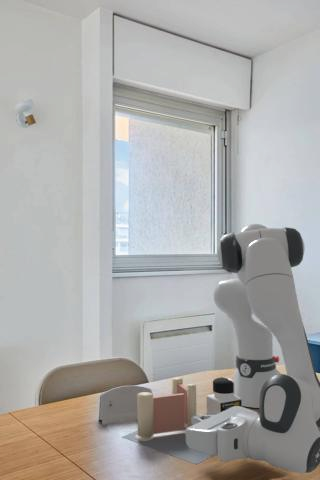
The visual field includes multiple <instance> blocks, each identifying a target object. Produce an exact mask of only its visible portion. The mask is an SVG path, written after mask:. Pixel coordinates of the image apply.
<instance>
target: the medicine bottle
mask: <svg viewBox="0 0 320 480" xmlns="http://www.w3.org/2000/svg"><path fill="white" fill-rule="evenodd" d="M234 394H235V382H234V380H233V378H229V377H225V376H224V377H221V376H220V377H217V378H214V379H213V380H212V394H207V395H206V415H216V414H218V413H220V412H223V411H225V410H227V409H229V408H231V407H233V406H241V407H243V406H242V399H241V398H240V397H237V396H235V395H234Z"/></svg>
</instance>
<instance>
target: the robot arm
mask: <svg viewBox="0 0 320 480" xmlns="http://www.w3.org/2000/svg"><path fill="white" fill-rule="evenodd" d="M302 237H303V236H302V234H301V233H300V231H298V230H297V229H296V228H293V227H286V226H284V227H282V228H275V227H274V228H272V227H271V228H270V227H266V226H265V225H263V224H259V223H253V224H248V225H247V226H245V227H243V228H242V230H240V231H238V232H236V233H235V232H230V233H226V234H224V235H222V236H221V238H220V239H219V243H218V246H217V252H216V255H217V259H218V261H219V264H220V265H221V268H222V269H223V270H224V271H226V272H227V273H233V274H236V275H237V277H238V278H230V279H224V280H220V281H219V282H218V283H217V284H216V286H215V287H214V289H213V290H214V291H213V301H214V303H215V305H216V307H217V309H219V310H220V311H221V312H223V313H224V314H225V315H226V316H227V317H228V319H229V320H230V321H231V323H232V325H233V327H234V330H235V335H236V336H235V337H236V346H237V349H236V351H237V353H236V354H237V355H236V358H235V367H236V370H235V371H234V372H233V377H232V380H234V382H235V394H234V395H235V396H237V397H240V398H241V399H242V407H241V406H233V407H231V408H229V409H227V410H225V411H223V412H220V413H218V414H216V415H207V414H204V413H203V414H202V413H198V414H196V416H194V417H192V418H191V423H192V426H190V427H188V428H186V444H187V446H188V447H190V448H192V449H194V450H197V451H199V452H202V453H205V454H208V455H213V456H214V457H215V456H217V459H218V460H219V461H221V462H225V463H226V462H231V461H233V460H241V459H244V460H245V459H251V460H252V461H253V460H254V461H257V462H258V461H260V462H261V461H262V462H265V463H268V464H269V465H271V466H272V467H275V468H277V469H280V470H284V471H286V472H287V471H288V472H291V473H297V474H309V473H311V472H314V471H315V470H316V469H317V468H318V467H319V465H320V430H319V428H320V380H319V378H318V375H317V373H316V367H315V365H314V361H313V356H312V352H311V349H310V344H309V341H308V336H307V332H306V329H305V326H304V323H303V319H302V316H301V310H300V306H299V301H298V300H299V299H298V295H297V289H296V285H295V280H294V275H293V269H292V268H294V267H297V266H299V265H300V264H301V263H302V261H303V259H304V255H305V241H304V239H303V238H302ZM252 315H253V316H255V318H256V319H257V320H259V321H260V322H261V323H262V324H261V323H259V322H257V321H256V320H254V319H253V316H252ZM273 336H274V337H275V338H276V341H277V342H278V344H279V346H280V349H281V354H282V358H283V364H284V366H285V373H286V374H284V373H281V372H280V371H279V370H278V369H277V366H276V365H277V364H276V363H280V356H279V355H277V356H276V355H273V352H274V350H273V349H274V348H273V346H274V345H273V338H274V337H273ZM246 407H247V408H246ZM250 408H251V409H250ZM252 408H254V409H258V410H259V412H258V411H255V410H252Z"/></svg>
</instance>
